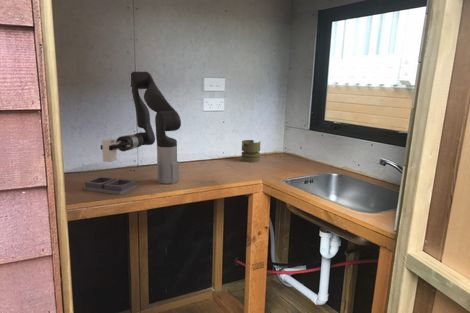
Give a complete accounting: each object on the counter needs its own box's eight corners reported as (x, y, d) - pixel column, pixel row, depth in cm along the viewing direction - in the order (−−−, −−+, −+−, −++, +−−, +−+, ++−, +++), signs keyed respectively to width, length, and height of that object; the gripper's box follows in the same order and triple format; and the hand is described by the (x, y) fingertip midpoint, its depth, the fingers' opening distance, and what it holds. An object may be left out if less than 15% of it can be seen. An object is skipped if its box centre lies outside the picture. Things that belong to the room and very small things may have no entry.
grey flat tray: (136, 187, 164) (136, 180, 163) (120, 194, 153) (120, 187, 152) (101, 182, 170) (100, 176, 169) (83, 189, 159) (82, 182, 158)
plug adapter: (117, 159, 175) (115, 139, 173) (110, 161, 170) (109, 140, 168) (109, 159, 176) (108, 138, 174) (102, 161, 171) (101, 140, 170)
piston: (251, 139, 232) (264, 141, 224) (250, 158, 234) (263, 161, 226) (238, 141, 224) (251, 143, 216) (237, 160, 227) (250, 163, 219)
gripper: (115, 134, 187) (92, 138, 171) (139, 136, 182) (118, 140, 166) (115, 149, 188) (93, 154, 172) (139, 151, 184) (118, 156, 168)
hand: (105, 147), depth 169 cm, fingers closed on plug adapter, 4 cm apart
